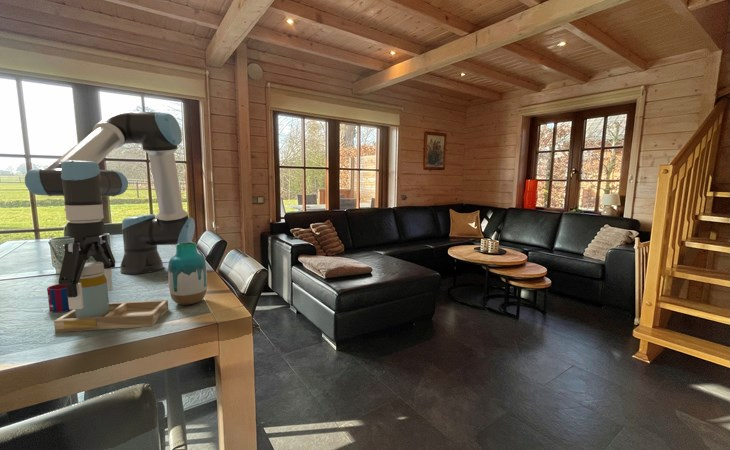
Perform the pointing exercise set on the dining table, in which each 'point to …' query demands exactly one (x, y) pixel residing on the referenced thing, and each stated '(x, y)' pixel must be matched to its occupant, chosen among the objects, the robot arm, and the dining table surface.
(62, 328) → the caddy
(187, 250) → the vase
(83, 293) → the bottle
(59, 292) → the mug
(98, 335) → the dining table surface
